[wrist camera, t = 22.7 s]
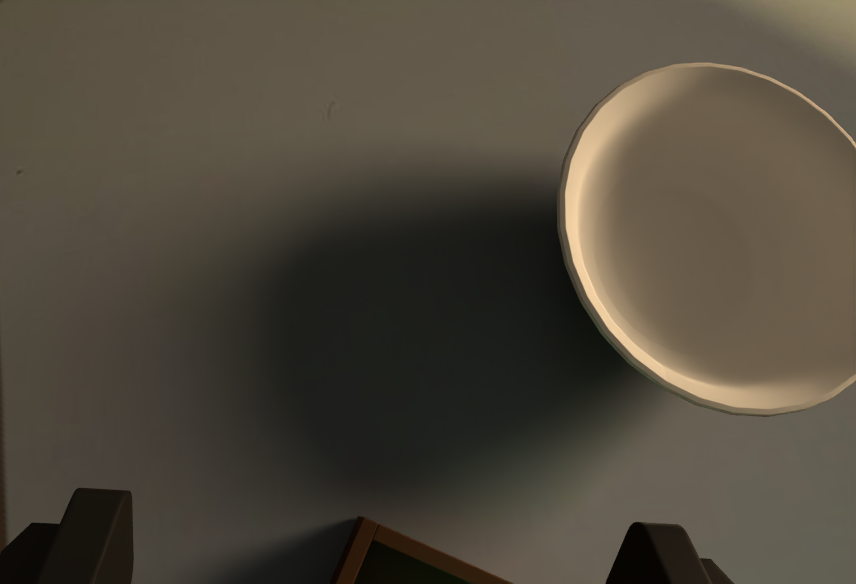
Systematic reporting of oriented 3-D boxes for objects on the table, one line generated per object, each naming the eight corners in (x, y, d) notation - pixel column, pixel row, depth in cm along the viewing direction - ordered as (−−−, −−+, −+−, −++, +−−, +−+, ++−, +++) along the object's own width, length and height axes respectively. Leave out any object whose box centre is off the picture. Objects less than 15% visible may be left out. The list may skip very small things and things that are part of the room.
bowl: (865, 221, 49) (946, 182, 43) (757, 493, 43) (834, 492, 37) (607, 60, 48) (653, -2, 42) (461, 310, 42) (490, 280, 36)
